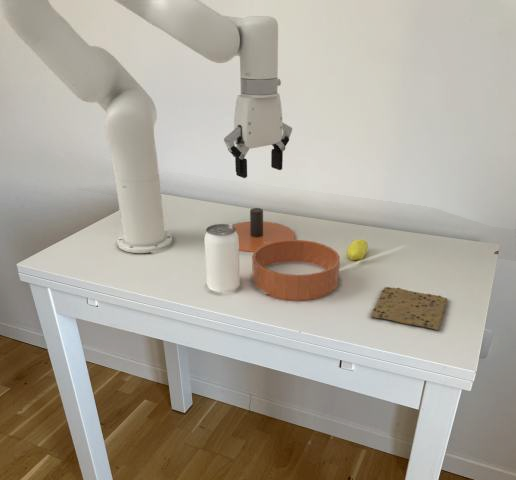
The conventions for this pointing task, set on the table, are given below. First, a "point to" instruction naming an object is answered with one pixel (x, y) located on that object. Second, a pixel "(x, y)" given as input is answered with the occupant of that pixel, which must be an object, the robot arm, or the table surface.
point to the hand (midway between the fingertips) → (259, 172)
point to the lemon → (357, 249)
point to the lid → (260, 232)
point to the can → (222, 257)
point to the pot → (295, 284)
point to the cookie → (410, 307)
